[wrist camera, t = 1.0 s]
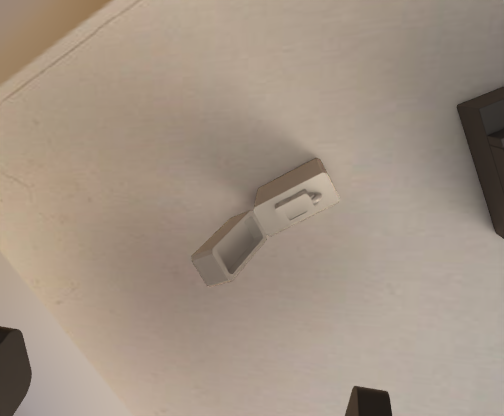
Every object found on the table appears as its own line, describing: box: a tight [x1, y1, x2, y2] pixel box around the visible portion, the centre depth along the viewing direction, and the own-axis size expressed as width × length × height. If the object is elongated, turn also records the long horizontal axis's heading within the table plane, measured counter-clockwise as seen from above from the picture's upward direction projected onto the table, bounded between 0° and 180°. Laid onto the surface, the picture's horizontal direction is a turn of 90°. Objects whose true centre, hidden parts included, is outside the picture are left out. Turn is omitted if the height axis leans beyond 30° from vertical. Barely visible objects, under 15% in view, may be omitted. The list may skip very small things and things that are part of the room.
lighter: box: [192, 158, 340, 287], centre depth 24 cm, size 7×2×8 cm, turn 119°
